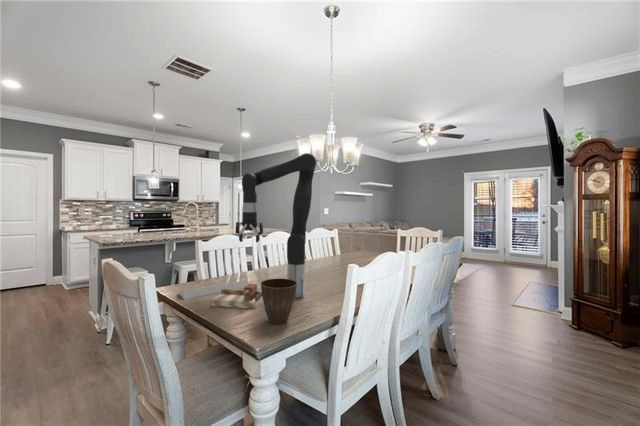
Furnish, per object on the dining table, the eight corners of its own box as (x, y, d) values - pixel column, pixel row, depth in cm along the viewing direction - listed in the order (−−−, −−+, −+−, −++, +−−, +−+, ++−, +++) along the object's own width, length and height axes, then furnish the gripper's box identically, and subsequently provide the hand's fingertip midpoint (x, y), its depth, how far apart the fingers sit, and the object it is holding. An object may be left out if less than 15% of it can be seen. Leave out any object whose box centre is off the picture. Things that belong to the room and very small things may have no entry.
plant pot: (283, 311, 135) (283, 276, 135) (303, 322, 124) (304, 283, 123) (253, 319, 125) (254, 281, 125) (272, 331, 114) (273, 290, 114)
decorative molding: (179, 300, 156) (184, 300, 149) (178, 290, 157) (183, 290, 150) (240, 289, 178) (248, 289, 170) (240, 281, 179) (247, 280, 171)
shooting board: (262, 300, 149) (262, 291, 149) (255, 308, 138) (256, 297, 138) (222, 298, 151) (222, 288, 151) (212, 306, 140) (212, 295, 140)
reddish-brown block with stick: (256, 295, 148) (256, 283, 147) (248, 304, 136) (248, 290, 135) (248, 295, 148) (249, 283, 148) (240, 303, 136) (240, 290, 136)
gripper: (264, 211, 161) (264, 241, 162) (239, 210, 162) (238, 240, 163) (260, 211, 154) (260, 243, 154) (233, 211, 155) (233, 242, 155)
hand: (249, 241), depth 159 cm, fingers open, 8 cm apart
